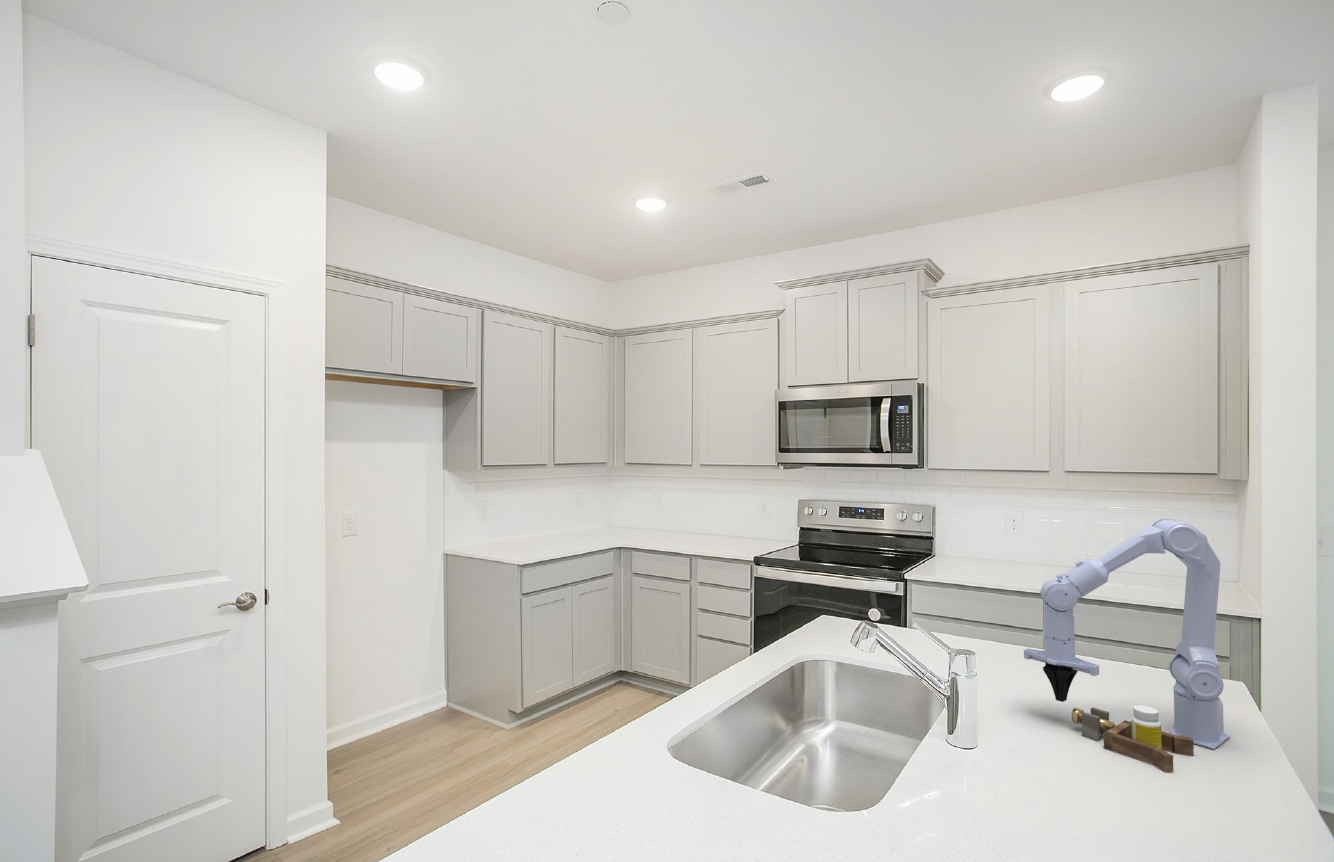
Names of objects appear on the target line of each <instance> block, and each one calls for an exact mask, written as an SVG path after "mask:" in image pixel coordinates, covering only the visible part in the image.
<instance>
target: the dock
mask: <svg viewBox="0 0 1334 862" xmlns="http://www.w3.org/2000/svg"><path fill="white" fill-rule="evenodd" d="M1100 718H1101V719H1104V720H1107V721H1110V712H1109V711H1106V710H1103V709H1100V708H1098V707H1097V708H1096V707H1091V708H1090V713H1089V712H1086V711H1084V712H1083V713H1082V724H1081V736H1082V737H1084V738H1087V739H1090V740H1093V741H1097V742H1099V741H1100V740H1101V739H1102V738H1101V737H1102V736H1103V749H1105V750H1108V751H1111V752H1114V753H1116V754H1120V755H1123V756H1125V757H1128V758H1132V759H1134V760H1137V761H1140V762H1143V763H1145V764H1146V763H1147V764H1149V765H1151V766H1152V765H1153V766H1154V767H1156V768H1157V769H1159V770H1161V771H1162V772H1164V773H1174V755H1173V754H1171V753H1174V754H1177V755H1183V756H1190V757H1195V756H1194V755H1195V754H1194V753H1195V752H1194V750H1195V749H1194V745H1195V744H1194V743H1193V739H1192V738H1191V737H1186V736H1179V735H1173V734H1169V733H1167V732H1165V731H1162V730H1161V736H1162V749H1161V748H1157V747H1156V746H1153V745H1149V744H1146V743H1143V742H1140V741H1137V740H1134V739H1132V730H1131V721H1129V720H1126V719H1125V720H1123V721H1121V722H1120V723H1117V725H1116V724H1115V727H1113V728H1111V729H1110V730H1106V729H1103V728H1101V723H1100ZM1169 752H1170V753H1169Z"/></svg>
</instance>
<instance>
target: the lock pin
mask: <svg viewBox="0 0 1334 862" xmlns="http://www.w3.org/2000/svg"><path fill="white" fill-rule="evenodd" d="M1083 712H1085V711H1084V710H1083V709H1082V708H1078V707H1074V708H1073V709H1072V711H1071V720H1072V722H1073V723H1074V724H1078V725H1082V713H1083ZM1100 723H1101V728H1103V729H1106V730H1110V729H1111V728H1113V727H1115V726H1116V723H1115V722H1114V721H1111V720H1109V721H1107V720H1104V719H1101V718H1100Z"/></svg>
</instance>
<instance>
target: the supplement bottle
mask: <svg viewBox="0 0 1334 862" xmlns="http://www.w3.org/2000/svg"><path fill="white" fill-rule="evenodd" d="M1132 714H1133V715H1132V716H1131V718H1130V719H1131V721H1130V722H1131V730H1132V739H1134V740H1137V741H1140V742H1143V743H1146V744H1149V745H1153V746H1156V747H1157V748H1161V749H1162V736H1161V731H1162V722H1161V721H1160V720H1159V718H1160V714H1159V710H1158V709H1156V708H1154V707H1151V706H1147V705H1141V704H1140V705H1134V706H1133V712H1132Z"/></svg>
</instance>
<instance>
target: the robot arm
mask: <svg viewBox="0 0 1334 862" xmlns="http://www.w3.org/2000/svg"><path fill="white" fill-rule="evenodd" d="M1166 551H1168V552H1170V553H1171V554H1173V555H1174V556H1175V557H1176V558H1177V559H1178V560H1179V561H1180V562H1181V563H1182V564H1184V565H1185V566H1186V575H1185V576H1186V578H1185V590H1184V591H1185V592H1184V600H1183V601H1184V603H1183V614H1182V628H1181V641H1180V643H1178V645H1177V646H1176V648H1175V654H1174V655H1173V657H1172V659H1171V660H1170V662H1169V665H1168V668H1169V669H1168V670H1169V672H1170V675H1171V676H1172V678H1174V680H1175V684H1174V685H1173V726H1174V727H1173V728H1171V729H1170V730H1168V731H1167V732H1166V733H1169V734H1173V735H1179V736H1186V737H1191V738H1192V739H1193V743H1194V745H1198V746H1200V747H1205V748H1207V749H1211V750H1215V749H1217V748H1218V747H1219V746H1220V745H1222V744H1223V743H1224V742H1226V741H1227V740H1228V739H1230V737H1231V736H1230V734H1228V733H1225V731H1224V729H1225V728H1224V727H1225V725H1224V704H1223V702H1222V699H1221V698H1220V695H1221V694H1222V693H1223V690H1224V680H1223V678H1222V676H1221V674H1220V663H1219V660H1218V658H1217V656H1216V653H1215V650H1214V649H1215V639H1216V638H1215V637H1216V626H1217V614H1218V613H1217V612H1218V600H1219V589H1220V575H1221V561H1220V559H1219V558H1218V556H1217V554H1216V553H1215V551H1214V550H1213V548H1212V547H1211V544H1210V543H1209V541H1208V537H1207V535H1205V534H1204V533H1203V532H1201V531H1200V530H1199V529H1197V528H1196V527H1195V526H1193V525H1191V524H1188V523H1185V522H1180V521H1178V520H1176V519H1174V518H1173V519H1172V518H1170V517H1169V518H1168V517H1166V518H1160V519H1157V520H1156V521H1154V522H1153V523H1152V524H1148V525H1146V526H1144V527H1142V528H1141V529H1139V530H1138V531H1137V532H1135V533H1134V534H1133V535H1131V536H1130V537H1128V538H1127V539H1126V540H1124V541H1123V542H1121V543H1120V544H1118V545H1117V546H1116V547H1114V548H1113V549H1111V550H1110V551H1108V552H1107V553H1106V554H1104V555H1103V556H1101V557H1099V558H1098V559H1090V558H1086V559H1085V560H1081V559H1079V560H1077V561H1076V562H1075V563H1074V564H1075V566H1074V567H1072V568H1071V569H1068V570H1066V572H1064V573H1062V574H1060V573H1057V575H1056V576H1055V577H1056V578H1051V579H1049V580H1047V581H1045V582H1044V583H1043V584H1042V587H1041V588H1040V590H1039V594H1040V597H1041V598H1042V599H1043V601H1044V602H1043V611H1044V612H1043V638H1044V639H1043V640H1044V642H1043V643H1044V650H1040V649H1039V650H1038V649H1033V648H1029V647H1028V648H1026V649H1023V658H1024V660H1025V659H1026V660H1033V661H1036V662H1040V663H1044V664H1045V665H1044V666H1043V667H1042V670H1043V673H1044V674H1045V675H1046V677H1047V678H1048V681H1049V683H1050V684H1051V685H1050V686H1051V688H1052V692H1053V693H1054V694H1053V695H1054V697H1055V701H1057V702H1061V703H1063V702H1066V701H1067V700H1068V695H1069V690H1070V687H1071V684H1072V682H1073V680H1074V678H1075V677H1076V676H1077V673H1078V672H1079V673H1080V672H1081V673H1084V674H1085V673H1086V674H1089V675H1090V676H1091V677H1092V676H1093V677H1097V676H1099V675H1100V665H1099V664H1096V663H1092V662H1089V661H1087V660H1083V659H1081V658H1078V657H1076V637H1075V634H1076V633H1075V616H1074V608H1075V607H1076V605H1077V603H1078V599H1082V598H1084V597H1085V596H1086V595H1089V593H1092V592H1093V591H1094V590H1096V589H1098V588H1100V587H1102V586H1103V585H1105V584H1107V583H1108V581H1109V576H1110V573H1113V572H1114V571H1116V570H1118V569H1119V568H1121V567H1123V566H1125V565H1127V564H1129V563H1130V562H1132V561H1134V560H1135V559H1138V558H1139V557H1141V556H1143V555H1145V554H1159V555H1160V554H1166V553H1167V552H1166Z"/></svg>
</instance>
